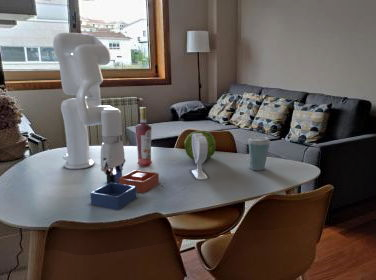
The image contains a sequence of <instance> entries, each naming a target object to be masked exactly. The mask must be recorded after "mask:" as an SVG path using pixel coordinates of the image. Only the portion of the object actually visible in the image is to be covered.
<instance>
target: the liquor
mask: <svg viewBox="0 0 376 280" xmlns="http://www.w3.org/2000/svg"><path fill="white" fill-rule="evenodd" d="M139 113H140V116H139V118H140V119H139V123H138V124H137V125H136V126H135V128H134V129H135V141H136V149H137V163H136V164H137V165H138V166H139V167H142V168H147V167H150V166H151V165H152V164H153V161H152V126H151V125H150V124H148V122H147V116H146V113H147V107H146V106H139Z"/></svg>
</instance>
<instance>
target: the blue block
mask: <svg viewBox="0 0 376 280" xmlns="http://www.w3.org/2000/svg"><path fill="white" fill-rule="evenodd" d="M113 175H114V183H118V184H119V178H120V177H122V176H123V170H122V171H117V170H116V169H113Z"/></svg>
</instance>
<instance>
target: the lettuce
mask: <svg viewBox="0 0 376 280" xmlns="http://www.w3.org/2000/svg"><path fill="white" fill-rule="evenodd" d="M199 133H201V134H202V135H203V136H205V137H206V140H207V143H208V151H207V158H206V160H207V159H210V158H212V156H213V155H214V154H215V152H216V149H217V148H216V147H217V145H216V140H215V137H214V136H213V135H212V134H211V132H209V131H206V130H195V131H193V132H191V133H190V134H188V135H187V136H186V138H185V140H184V150H185V153H186V155H187V156H188V158H190V159H192V160H194V156H193V150H192V134H199Z"/></svg>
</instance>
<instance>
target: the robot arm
mask: <svg viewBox="0 0 376 280" xmlns="http://www.w3.org/2000/svg"><path fill="white" fill-rule="evenodd" d="M52 44H53V45H52V46H53V47H52V48H53V51H54V54H55V56H56V59H57V61H58V65H59V66H58V67H59V72H60V73H59V75H60V81H61V88H62V91H63V93H64V94H65V95H68V96H75V97H72V98H66V99H64V100H63V101H62V102H61V104H60V111H61V115H62V118H63V123H64V132H65V143H66V151H67V153H66V154H64V155H63V156H62V158H61V159H62V160H64V161H66V162H65V163H64V167H65V168H66V169H68V170H81V169H86V168H90V167H92V166H93V165H94V164H95V163H94V160H92V159H91V157H90V141H89V130H88V126H89V127H91V126H98V125H99V126H100V125H101V136H102V137H101V138H102V139H101V140H102V143H101V144H100V145H101V146H100V171H101V172H103V173H104V174H105V176H106V184H108V183H110V182H112V183H114V175H113V170H117V171H122V172H123V169H124V168H123V167H124V165H125V163H126V159H125V148H124V143H123V132H122V130H123V129H122V113H121V110H120V109H119V108H115V107H113V106H111V105H109V104H107V105H102V98H101V97H102V96H101V87H100V85H101V84H102V83H103V81H104V77H103V74H102V71H101V67H100V66H107V65H108V64H110V62H111V52H110V50H109V48H108V46H107V45H106V44H105V43H104V42H103V41H102V40H101V39H100V38H98V37H97V35H94V34H92V33H81V32H80V33H78V32H60V33H57V34H56V35H55V36H54V37H53V42H52Z"/></svg>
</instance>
